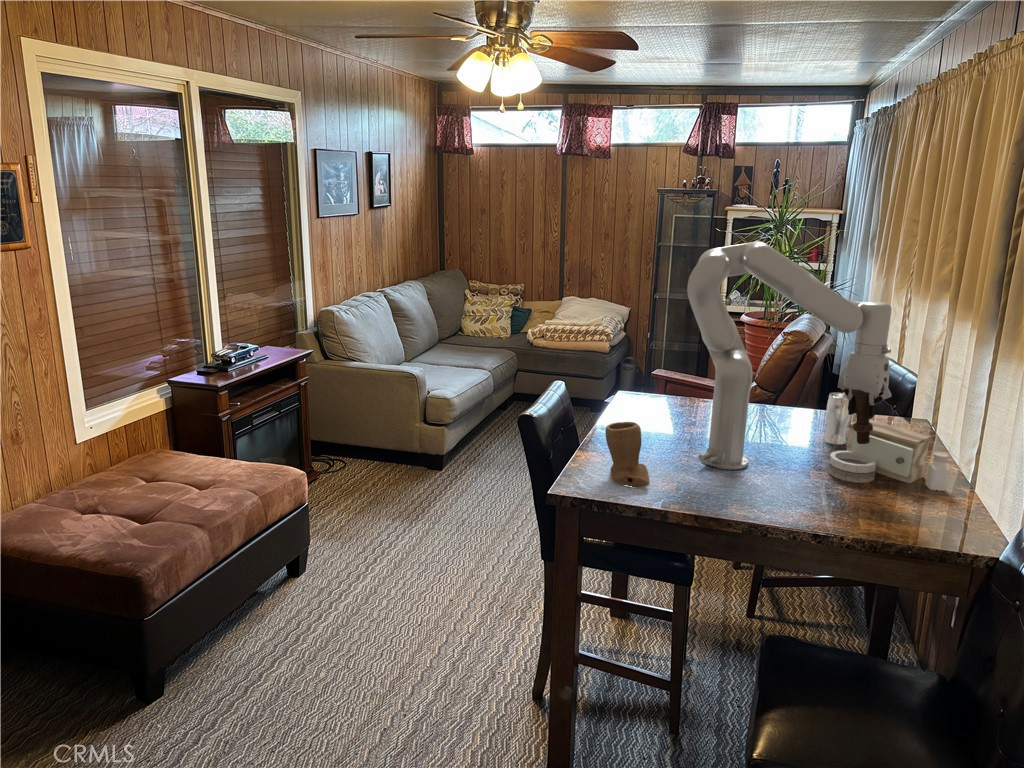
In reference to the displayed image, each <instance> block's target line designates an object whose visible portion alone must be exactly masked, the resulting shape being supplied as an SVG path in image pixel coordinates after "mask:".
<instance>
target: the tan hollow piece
mask: <svg viewBox="0 0 1024 768" xmlns="http://www.w3.org/2000/svg"><path fill="white" fill-rule="evenodd" d="M605 441H606V444H607V447H608V450H609V453H610V457H611V461H612V465H611V467H610V475H611V480H612V481H613V482H614V483H616V484H618V485H620V486H622V485H628V486H632V487H638V488H643V487H646V486H649V485H650V476H649V470H648V468H647V466H646V465H645V464H644V463H640V462H639V460H640V453H641V448H642V441H643V440H642V428H641V426H640V425H639V424H638V423H637V422H634V421H633V422H632V421H623V422H619V421H618V422H612V423H609V424H608V425H607V426H606V427H605Z"/></svg>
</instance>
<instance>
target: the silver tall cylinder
mask: <svg viewBox="0 0 1024 768" xmlns="http://www.w3.org/2000/svg"><path fill="white" fill-rule="evenodd" d="M848 403H849V400H848V399H847V396H846V394H845V393H844V392H830V393H829V395H828V400H827V404H826V410H825V411H826V412H825V413H826V415H825V416H826V432H825V435H824V438H823V441H824V442H825V443H827V444H828V445H833V446H844V445H845V444H846V431H847V427H848V426H849V421H850V418H851V415H848V412H849V411H848ZM843 444H844V445H843Z"/></svg>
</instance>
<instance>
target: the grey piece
mask: <svg viewBox="0 0 1024 768" xmlns="http://www.w3.org/2000/svg"><path fill="white" fill-rule="evenodd" d="M869 439H870V442H869V443H868V444H858V443H857V432H856V431H854V437H853V443H852V450H851V451H847V450H835V451H831V453H830V455H829V461H828V464H829V463H830V464H831V465H832V466H834V467H836V468H839V469H841V470H844V471H849V472H855V473H869V472H873V471H875V468H876V466H877V467H880V468H883V469H886V470H888V471H891V472H894V473H897V474H899V475H902V476H905V477H908V476H909V473H910V467H911V461H912V456H913V450H914V449H911V448H908V447H905V446H902V445H899V444H896V443H893V442H890V441H887V440H883V439H880V438H877V437H874V436H871V435H870V437H869ZM839 459H851V460H857V461H861V462H863V463H866V464H853V463H848V462H844V461H842V460H839Z"/></svg>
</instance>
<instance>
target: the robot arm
mask: <svg viewBox="0 0 1024 768" xmlns="http://www.w3.org/2000/svg"><path fill="white" fill-rule="evenodd" d="M747 274H750V275H752V276H753V277H754V278H756V279H758V280H759V281H760V282H761V283H763V284H765V285H766V286H768V287H770V288H771V289H772V290H774V291H775V292H778V293H779V294H781V295H782V296H783V297H785V298H786V299H787V300H789V301H791V302H792V303H793V304H795V305H798V306H799V307H801V308H802V309H804V310H806V311H807V312H809V313H810V314H812V315H814V316H815V317H817V318H818V319H820V320H821V321H822V322H823V323H826V324H827V325H829V326H830V327H831V328H833V329H834V330H836V331H837V332H840V333H844V334H849V333H853V332H855V338H854V339H855V340H854V344H853V345H854V346H853V347H854V348H853V351H851V353H850V355H849V358H848V360H847V363H846V368H845V373H844V378H843V379H842V380H840V382H839V383H838V385H837V386H838V387H839V389H840V390H842V391H843V393H845V394H846V396H847V399H848V400H849V403H848V411H849V412H848V415H850V416H851V415H856V401H855V396H853V395H852V389H853V390H861V391H864V392H866V393H869V404H868V405H867V408H866V415H865V418H866V419H869V420H872V419H873V418H874V417H875V416H876V410H877V405H878V404H879V403H881V402H882V401H885V400H886V399H889V398H891V397H892V393H891V390H890V389H889V384H890V383H889V381H890V360H889V359H890V358H889V355H887V354H891V352H892V348H889V347H888V337H889V332H890V325H891V324H890V323H891V318H892V317H891V316H892V306H891V305H890V303H887V302H883V301H874V300H873V301H872V300H871V301H857V300H853V299H852V300H851V299H846V298H845V297H843V296H842V295H841V294H839V293H837V292H836V291H834V290H833V289H831V288H830V287H829V286H827V285H826V284H825V283H823V282H822V281H821V280H820V279H818V277H816V276H815V275H814V274H813V273H811V272H810V271H808V270H807V269H805V268H804V267H803V266H802V265H799V264H798V263H796V262H795V261H793V260H791V258H788V257H787V256H786V255H784V254H782V253H781V252H780V251H778V250H777V249H775V248H773V247H772V246H770V245H769V244H767V243H765V242H764V241H752V242H751V241H750V242H745V243H740V244H734V245H729V246H722V247H721V246H720V247H714V248H710V249H708V250H706V251H705V252H703V253H702V254H701V255H700V256H699V258H698V261H697V264H696V265H695V266H694V268H693V269H692V271H691V273H690V275H689V277H688V281H687V286H686V287H687V297H688V298H687V299H688V300H689V304H690V307H691V310H692V312H693V315H694V318H695V320H696V321H695V322H696V323H697V325H698V328H699V331H700V333H701V340H702V342H704V345H705V346H706V348H707V350H708V352H709V355H710V357H711V360H712V363H713V365H714V368H715V377H714V387H713V394H712V395H713V397H712V406H711V408H712V409H711V417H710V418H711V419H710V429H709V438H708V439H709V440H708V447H707V448H706V451H705V452H704V453H701V454H699V455H698V460H699V461H700V462H703V463H704V464H706V465H707V466H709V465H710V466H709V467H712V466H713V468H715V467H716V469H720V470H727V469H728V470H731V471H734V470H741V469H745V468H747V466H748V464H749V460H748V458H747V457H746V456H744V448H745V440H746V432H747V430H746V429H747V422H748V413H749V412H748V411H749V402H750V394H751V389H752V382H753V377H754V376H753V366H752V362H751V361H750V358H749V356H748V353H747V351H746V348H745V346H744V343H743V341H742V338H741V335H740V333H739V331H738V327H737V325H736V323H735V321H734V319H733V318H732V316H730V314H729V312H728V309H727V307H726V304H725V301H724V297H723V296H722V293H721V286H722V283H723V282H724V281H725V279H727V278H728V277H736V276H743V275H747ZM881 393H882V394H881ZM880 394H881V395H880Z"/></svg>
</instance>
